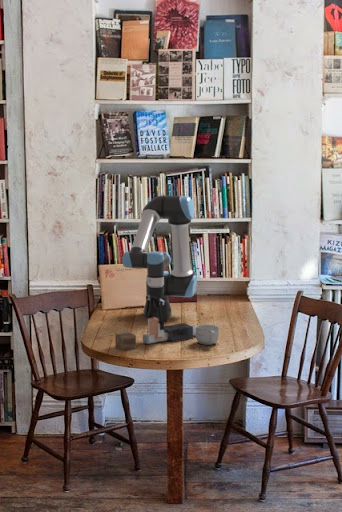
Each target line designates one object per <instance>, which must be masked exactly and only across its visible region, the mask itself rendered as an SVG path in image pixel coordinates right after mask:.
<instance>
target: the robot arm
mask: <svg viewBox="0 0 342 512" xmlns="http://www.w3.org/2000/svg"><path fill="white" fill-rule="evenodd" d="M140 217H141V220H140V222H139V224H138V228H137V231H136V233H135V237H134V240H133V242H132V245H131V248H130V251H124V253H123V255H122V257H121V261H122V265H123V267H124V268H127V269H146V272H147V275H146V277H145V278H146V279H145V284H146V286H145V287H146V289H145V292H146V295H145V303H144V308H143V313H142V315H143V317H146V319H147V332H148V333H147V334H149V333H150V318H153V317H156V318H158V320H159V322H158V337H162V336H164V326H165V323H168V317H171V316H172V312H173V311H172V307H171V304H170V302H169V297H174V298H175V297H176V298H177V297H179V298H193V296H194V295H195V294H196V289H197V285H198V284H197V283H198V276H197V275H195V274H194V270H193V269H192V268H191V263H190V262H191V261H190V258H191V257H190V238H189V237H190V236H189V234H190V233H189V232H190V231H189V225H190V224H191V223H192V220H193V219H194V217H195V206H194V201H193V199H192V198H191V196H189V195H187V196H186V195H185V196H184V195H158V196H156V197H154V198H152V199H151V200H149V201H148V202H147V204H146V205H145V206H144V207H143V208H142V211H141V214H140ZM163 219H164V220H167V221H168V222H167V223H168V225H169V226H171V242H172V258H171V256H170V254H169V253H168V252H166V251H157V250H156V251H149V252H147V251H148V248H149V246H150V242H151V239H152V236H153V233H154V230H155V228H156V224H158V223H159V222H160V220H163ZM171 262H172V265H173V268H172V270H171V271H170V273H169V271H168V270H165V269H167V268H168V267H169V266H170V265H171Z"/></svg>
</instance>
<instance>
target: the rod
mask: <svg viewBox="0 0 342 512" xmlns="http://www.w3.org/2000/svg"><path fill="white" fill-rule="evenodd" d="M158 322H159V320H158V318H156V317H153V318H150V333H143V334H142V343H143V344H146V345H150V344H155V343H159V342H166V341H170V332H169V331H167V330H166V331H164V336H162V337H158ZM192 326H193V337H194V336H196V326H194V325H192Z"/></svg>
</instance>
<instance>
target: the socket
mask: <svg viewBox="0 0 342 512" xmlns="http://www.w3.org/2000/svg"><path fill="white" fill-rule="evenodd" d="M114 334H115V335H114V337H115V340H114V341H115V347H116V348H118V349H120V350H122V351H123V352H124V351H129V350H130V351H131V350H135V349H137V336H136V334H134V333H132V332H130V331H126V330H125V331H121V332H120V331H119V332H115V333H114Z"/></svg>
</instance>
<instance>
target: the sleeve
mask: <svg viewBox="0 0 342 512" xmlns="http://www.w3.org/2000/svg"><path fill="white" fill-rule="evenodd" d="M193 326H194V325H191V324H190V325H189V324H188V323H184V322H183V323H177V324H175V323H174V324H169V325H164V331H166V330H167V331H169V332H170V340H169V342H170V343H174V342H179V341H185V340H190V339H193V338H194V336H193Z"/></svg>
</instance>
